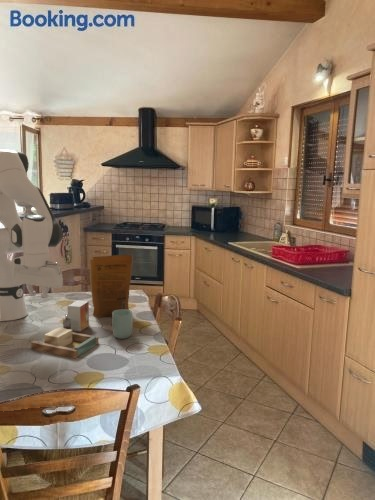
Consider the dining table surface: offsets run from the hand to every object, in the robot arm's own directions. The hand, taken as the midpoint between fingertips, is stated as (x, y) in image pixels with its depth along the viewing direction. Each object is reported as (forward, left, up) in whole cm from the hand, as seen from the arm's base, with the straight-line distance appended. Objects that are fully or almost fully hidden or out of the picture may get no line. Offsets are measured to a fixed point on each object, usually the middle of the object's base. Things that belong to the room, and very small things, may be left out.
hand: (38, 296), depth 145 cm
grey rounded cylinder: (+5, +9, -17) cm, 20 cm away
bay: (+12, 0, -17) cm, 21 cm away
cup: (+26, +16, -17) cm, 35 cm away
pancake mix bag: (+9, +36, -17) cm, 41 cm away
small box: (+5, +17, -17) cm, 25 cm away
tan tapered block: (+9, 0, -17) cm, 19 cm away
